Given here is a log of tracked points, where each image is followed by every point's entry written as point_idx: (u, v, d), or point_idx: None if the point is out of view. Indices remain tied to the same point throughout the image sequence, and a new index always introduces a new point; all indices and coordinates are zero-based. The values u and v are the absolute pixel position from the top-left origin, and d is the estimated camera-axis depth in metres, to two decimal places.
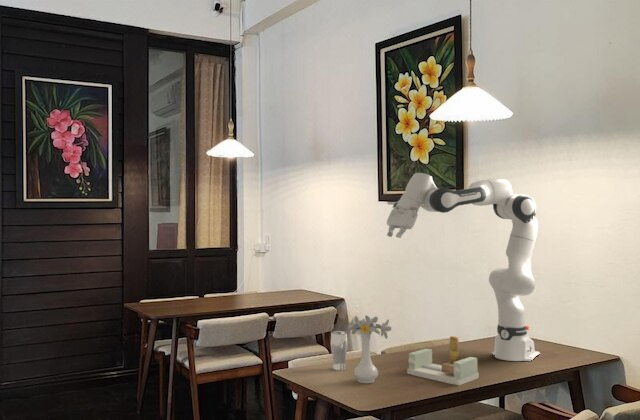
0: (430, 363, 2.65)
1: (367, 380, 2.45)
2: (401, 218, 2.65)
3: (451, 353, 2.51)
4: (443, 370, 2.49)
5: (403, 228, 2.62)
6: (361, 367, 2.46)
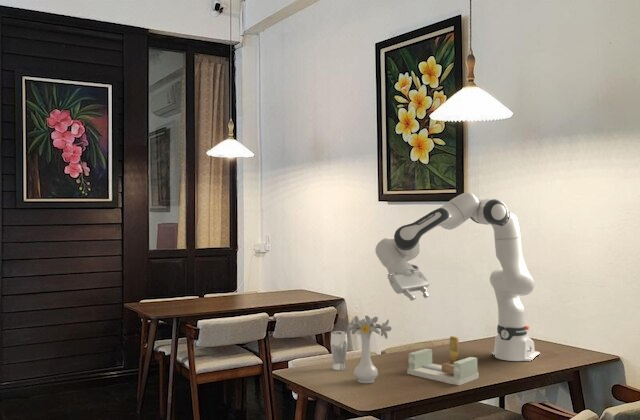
0: (430, 363, 2.65)
1: (367, 380, 2.45)
2: None
3: (451, 353, 2.51)
4: (443, 370, 2.49)
5: (404, 292, 2.60)
6: (361, 367, 2.46)
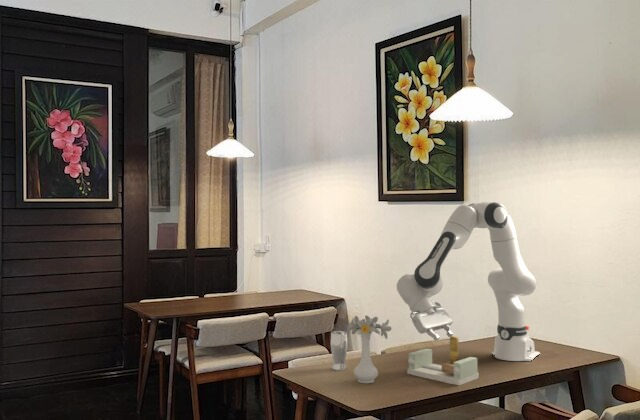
0: (430, 363, 2.65)
1: (367, 380, 2.45)
2: None
3: (451, 353, 2.51)
4: (443, 370, 2.49)
5: (428, 332, 2.52)
6: (361, 367, 2.46)
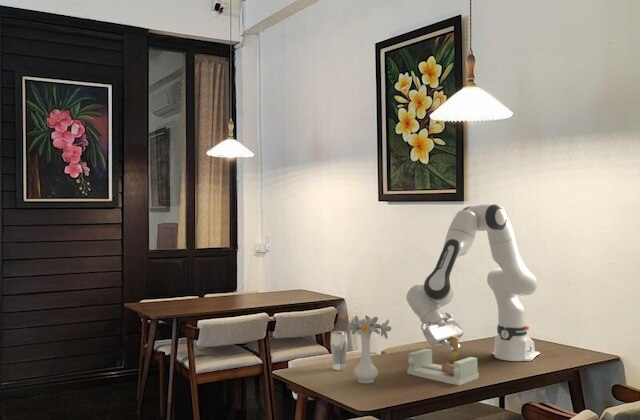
0: (430, 363, 2.65)
1: (367, 380, 2.45)
2: None
3: (451, 353, 2.51)
4: (443, 370, 2.49)
5: (443, 343, 2.50)
6: (361, 367, 2.46)
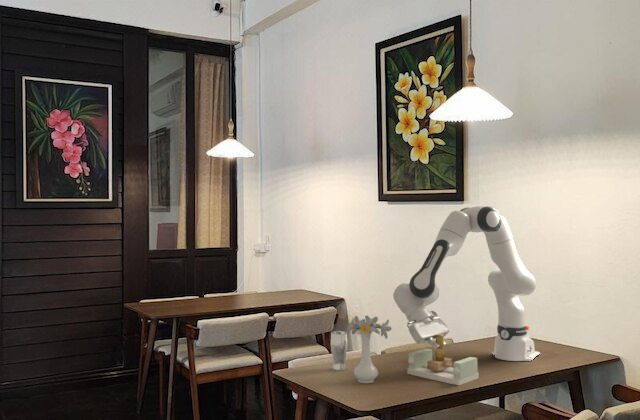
0: None
1: (367, 380, 2.45)
2: None
3: (436, 350, 2.56)
4: (429, 367, 2.54)
5: (428, 340, 2.55)
6: (361, 367, 2.46)
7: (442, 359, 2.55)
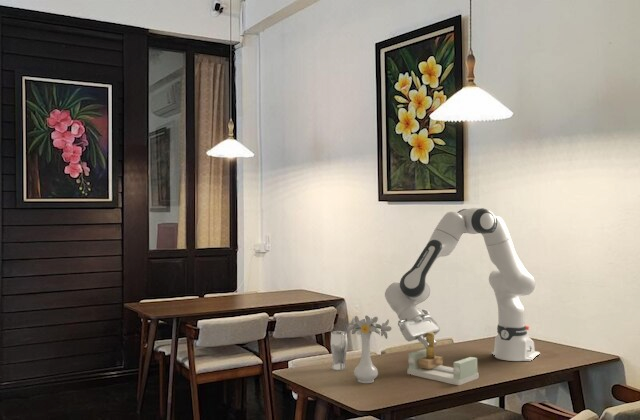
0: None
1: (367, 380, 2.45)
2: None
3: (427, 349, 2.59)
4: (419, 365, 2.57)
5: (419, 339, 2.58)
6: (361, 367, 2.46)
7: (432, 357, 2.58)
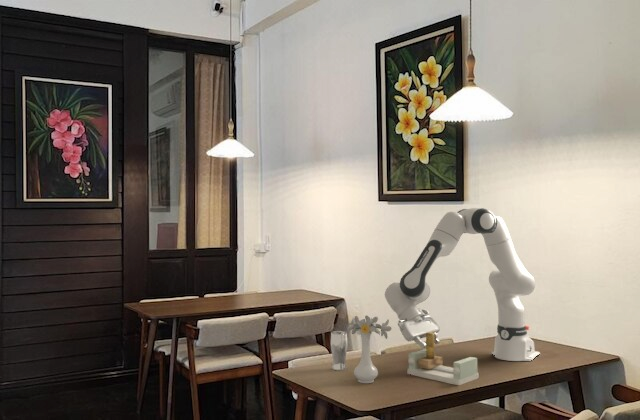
0: None
1: (367, 380, 2.45)
2: None
3: (427, 348, 2.59)
4: (419, 365, 2.57)
5: (415, 340, 2.57)
6: (361, 367, 2.46)
7: (432, 357, 2.58)
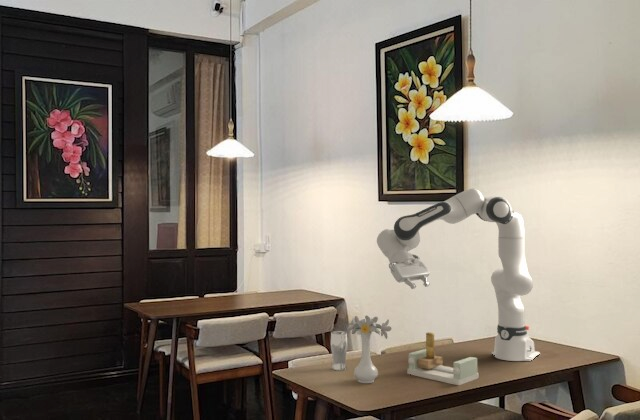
0: None
1: (367, 380, 2.45)
2: None
3: (427, 348, 2.59)
4: (419, 365, 2.57)
5: (405, 281, 2.67)
6: (361, 367, 2.46)
7: (432, 357, 2.58)
